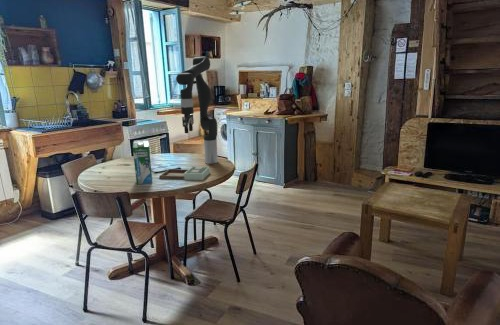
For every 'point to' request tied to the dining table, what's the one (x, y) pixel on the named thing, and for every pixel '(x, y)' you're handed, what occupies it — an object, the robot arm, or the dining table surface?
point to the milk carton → (142, 162)
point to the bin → (196, 174)
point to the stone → (199, 169)
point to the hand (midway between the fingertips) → (188, 132)
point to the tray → (173, 174)
